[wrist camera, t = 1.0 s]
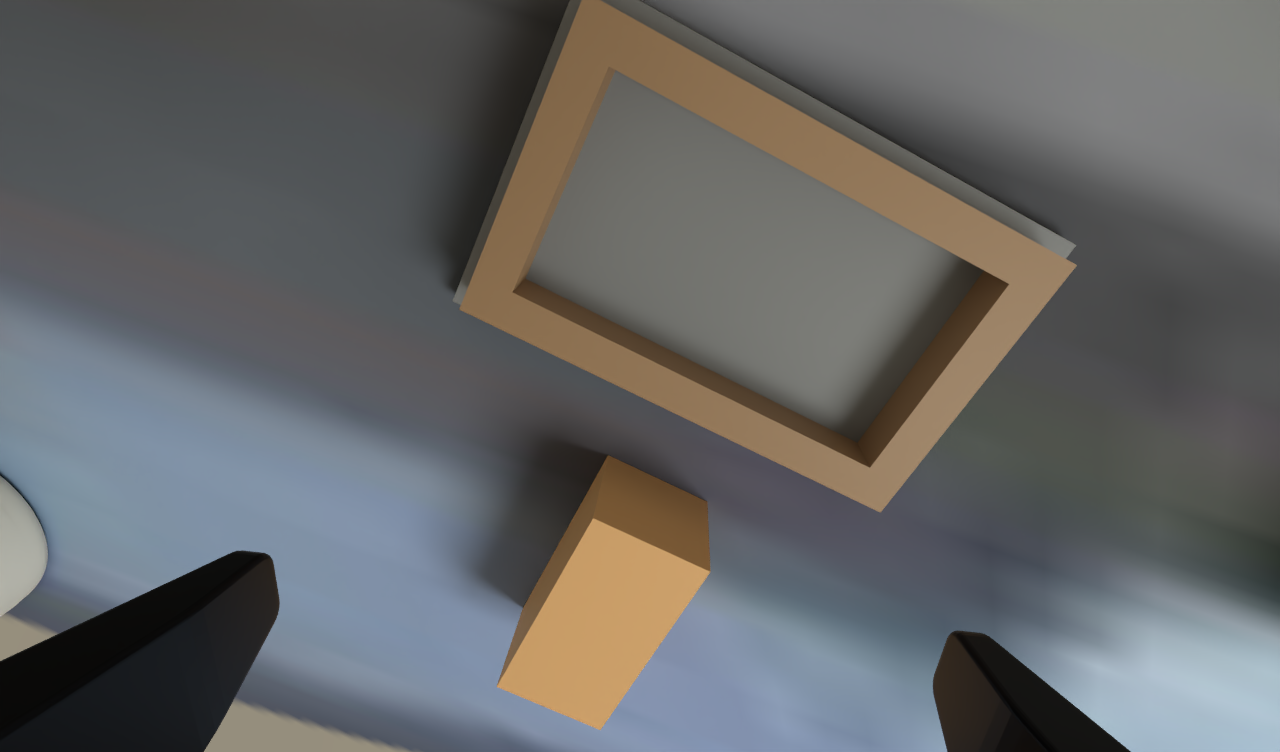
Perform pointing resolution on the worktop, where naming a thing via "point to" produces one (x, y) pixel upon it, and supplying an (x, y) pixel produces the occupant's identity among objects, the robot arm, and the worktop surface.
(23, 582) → the pill bottle
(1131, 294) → the worktop surface
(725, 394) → the board
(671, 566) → the ochre bar
